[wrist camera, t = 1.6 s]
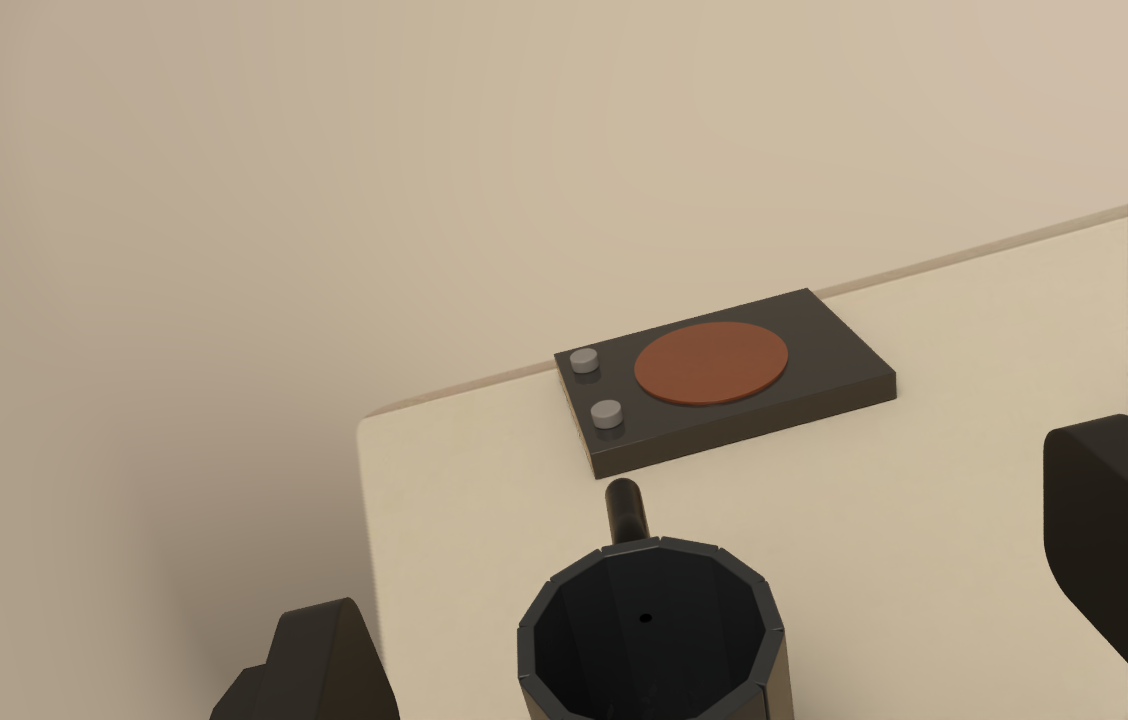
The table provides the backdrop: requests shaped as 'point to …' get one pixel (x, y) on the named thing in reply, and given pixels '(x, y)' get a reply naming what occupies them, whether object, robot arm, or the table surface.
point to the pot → (653, 632)
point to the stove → (717, 380)
